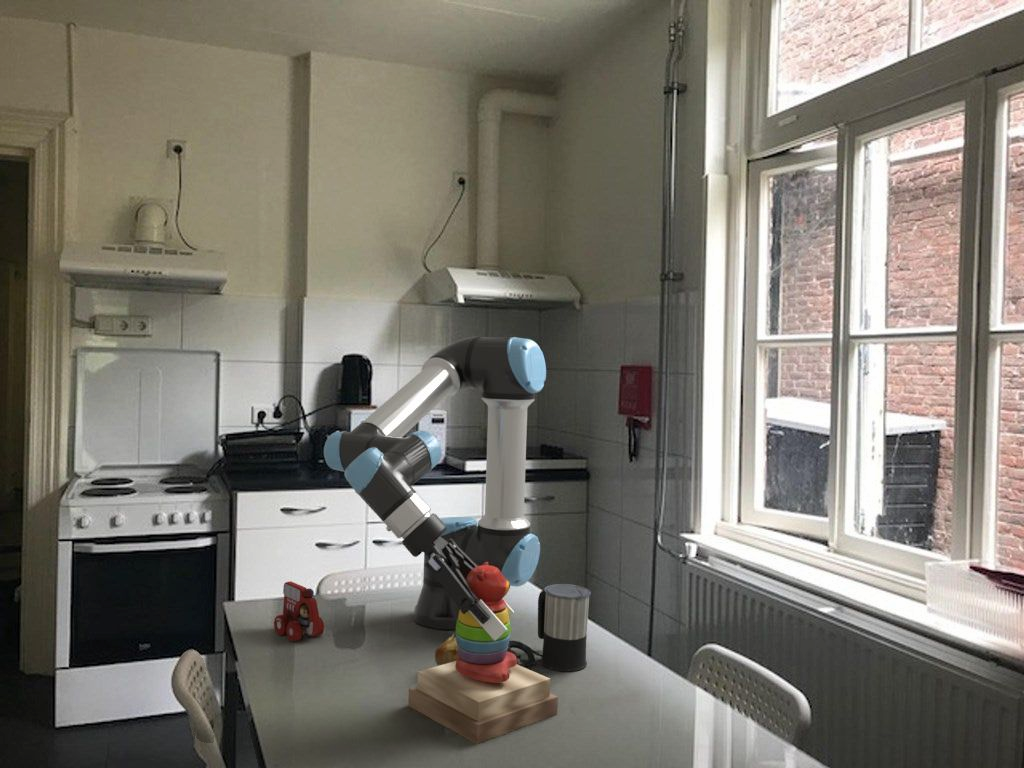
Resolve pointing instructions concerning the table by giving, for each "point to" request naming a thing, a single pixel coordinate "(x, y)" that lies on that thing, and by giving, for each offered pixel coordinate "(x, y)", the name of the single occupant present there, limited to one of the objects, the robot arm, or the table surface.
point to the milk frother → (560, 628)
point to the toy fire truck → (298, 613)
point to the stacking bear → (473, 642)
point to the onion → (447, 651)
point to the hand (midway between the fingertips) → (504, 625)
